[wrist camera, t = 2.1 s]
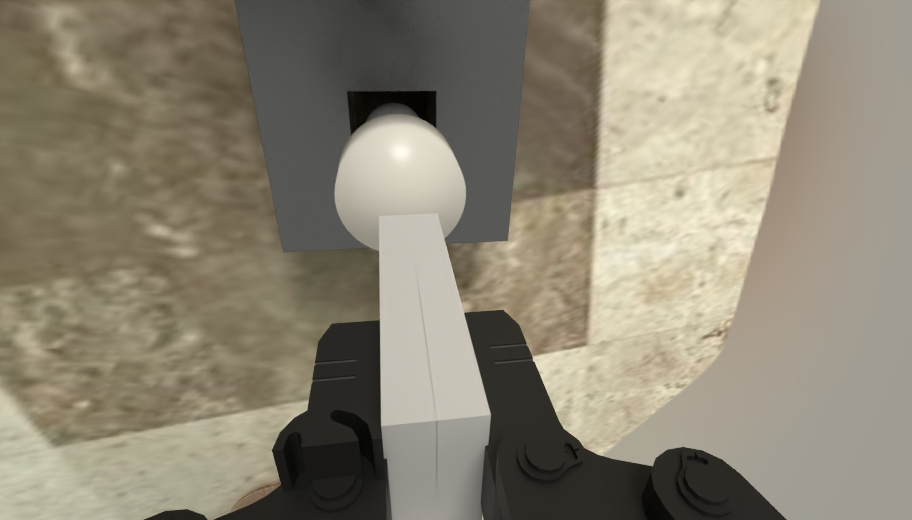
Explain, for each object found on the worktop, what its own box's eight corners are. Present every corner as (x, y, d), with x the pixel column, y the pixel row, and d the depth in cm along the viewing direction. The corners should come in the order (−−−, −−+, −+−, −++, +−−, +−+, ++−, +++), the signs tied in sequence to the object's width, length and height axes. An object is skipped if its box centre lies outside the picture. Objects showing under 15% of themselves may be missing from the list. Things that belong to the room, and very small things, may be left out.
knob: (342, 84, 21) (327, 134, 14) (439, 84, 22) (468, 131, 15) (351, 177, 23) (341, 257, 17) (439, 174, 24) (464, 251, 17)
